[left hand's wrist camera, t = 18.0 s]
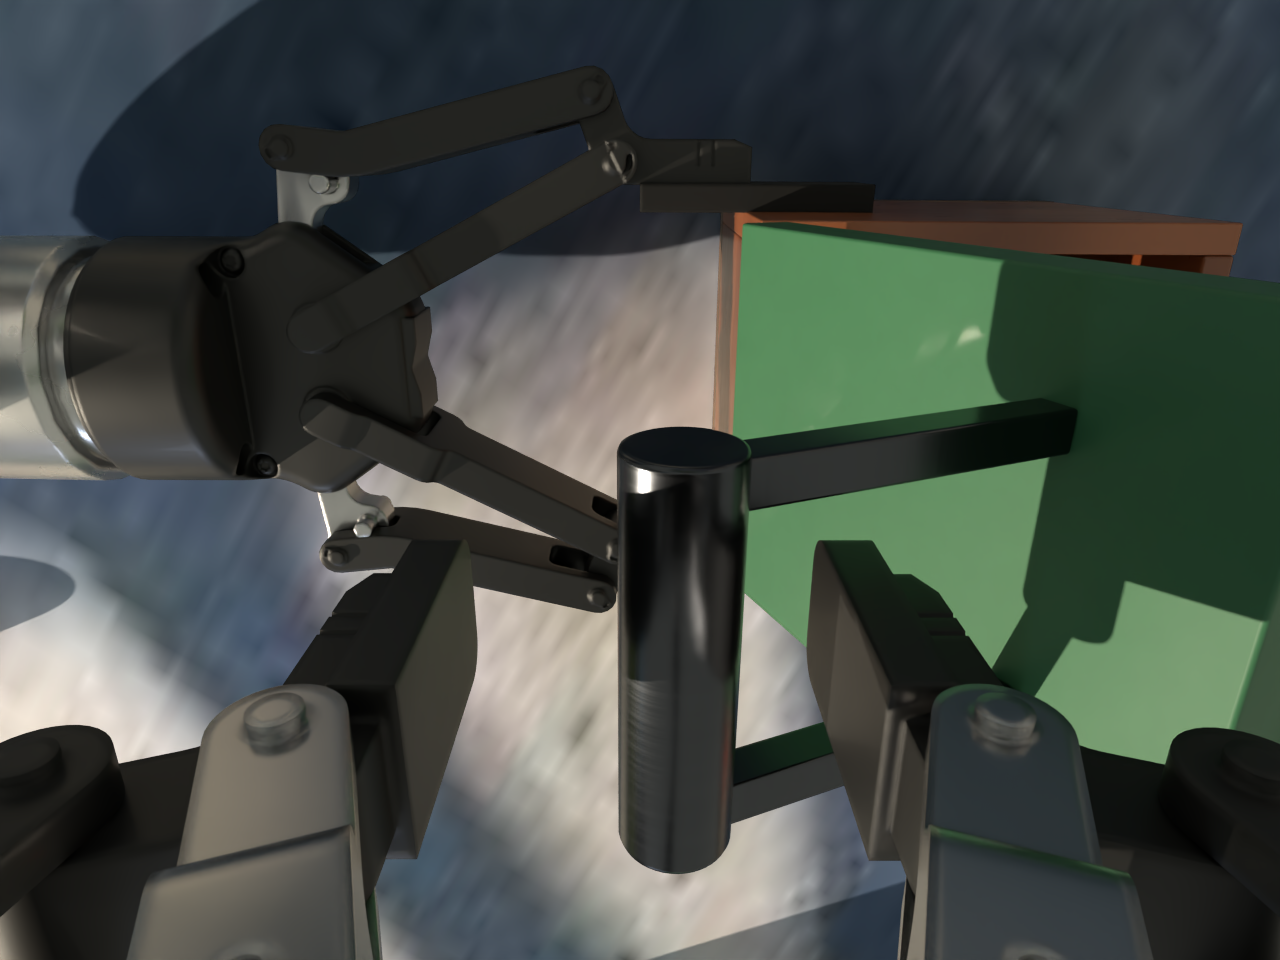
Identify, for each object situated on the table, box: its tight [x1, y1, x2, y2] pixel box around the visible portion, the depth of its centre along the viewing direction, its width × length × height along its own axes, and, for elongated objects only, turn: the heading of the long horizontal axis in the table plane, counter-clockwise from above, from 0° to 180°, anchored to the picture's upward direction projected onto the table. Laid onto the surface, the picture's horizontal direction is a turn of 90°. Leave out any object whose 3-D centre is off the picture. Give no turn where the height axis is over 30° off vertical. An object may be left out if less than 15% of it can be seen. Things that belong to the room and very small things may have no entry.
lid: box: [617, 222, 1280, 874], centre depth 15 cm, size 13×9×8 cm
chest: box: [712, 200, 1243, 435], centre depth 27 cm, size 12×9×11 cm
